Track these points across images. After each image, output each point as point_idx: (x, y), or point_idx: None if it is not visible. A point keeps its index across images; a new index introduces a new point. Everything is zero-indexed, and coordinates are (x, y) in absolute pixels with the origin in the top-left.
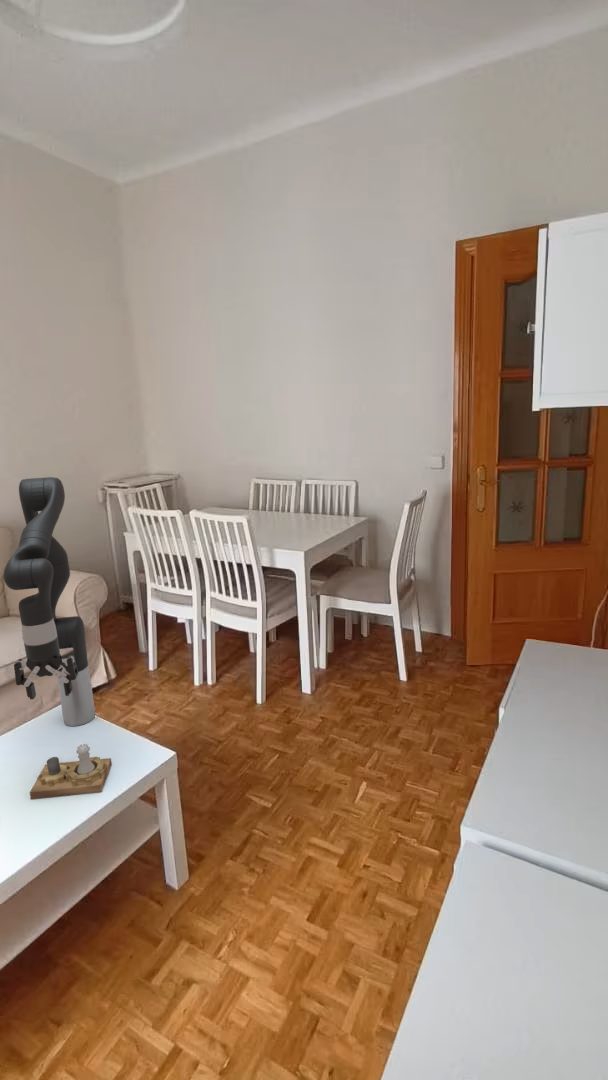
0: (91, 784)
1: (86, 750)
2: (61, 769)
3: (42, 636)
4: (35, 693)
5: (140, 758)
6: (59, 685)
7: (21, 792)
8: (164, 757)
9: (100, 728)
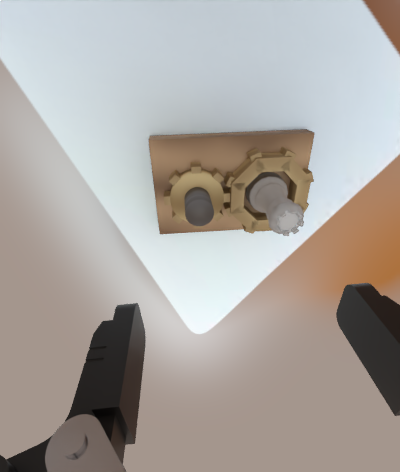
0: None
1: (297, 227)
2: (210, 192)
3: None
4: (136, 315)
5: (375, 111)
6: None
7: (129, 205)
8: None
9: None
